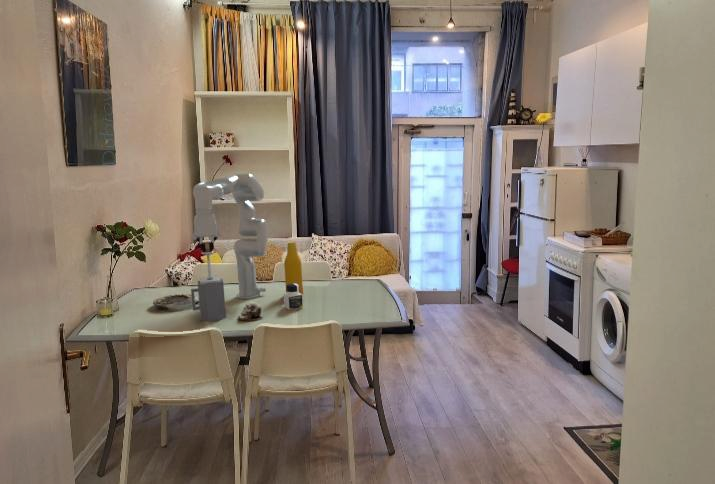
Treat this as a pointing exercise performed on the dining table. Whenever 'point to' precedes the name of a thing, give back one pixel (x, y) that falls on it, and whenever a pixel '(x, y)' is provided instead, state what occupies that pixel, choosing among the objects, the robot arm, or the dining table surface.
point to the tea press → (210, 299)
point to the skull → (251, 312)
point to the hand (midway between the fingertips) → (207, 250)
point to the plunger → (208, 251)
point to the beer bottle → (293, 267)
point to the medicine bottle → (293, 297)
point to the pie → (175, 302)
